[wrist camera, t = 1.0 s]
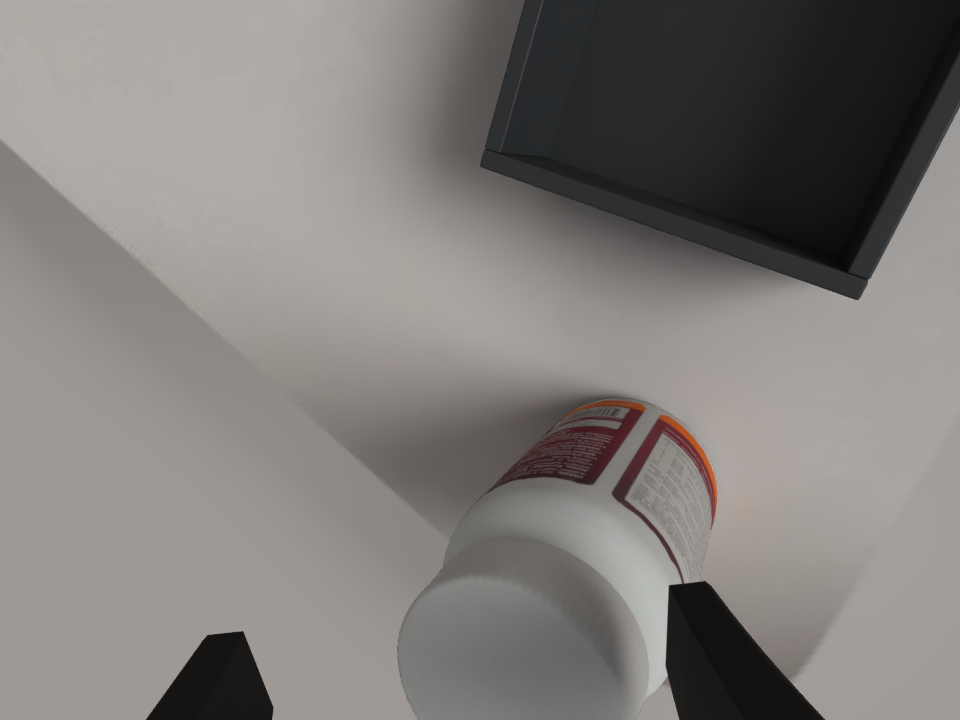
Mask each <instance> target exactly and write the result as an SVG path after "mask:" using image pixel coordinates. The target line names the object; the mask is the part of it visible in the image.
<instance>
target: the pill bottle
mask: <svg viewBox="0 0 960 720" xmlns="http://www.w3.org/2000/svg"><path fill="white" fill-rule="evenodd" d="M716 505H717V482H716V476H715V472H714V468H713V465H712V462H711V460H710V458H709V456H708V454H707V452H706V450H705V448H704V446H703V445H702V443H701V442H700V440H699V439H698V438H697V437H696V435H695V434H694V433H693V432H692V431H691V430H690V429H689V428H688V427H687V426H686V425H685V424H684V423H683V422H681V421H680V420H679V419H677V418H676V417H674V416H673V415H671V414H670V413H668V412H667V411H665V410H663V409H661V408H659V407H656V406H654V405H651V404H649V403H645V402H642V401H638V400H633V399H628V398H610V399H603V400H598V401H594V402H591V403H588V404H585V405H583V406H581V407H579V408H577V409H575V410H573V411H572V412H570V413H569V414H567V415H566V416H565V417H563V418H562V419H561V420H560V421H559V422H558V423H557V424H556V425H555V426H554V427H553V428H552V429H550V430H549V431H548V432H547V433H546V434H545V435H544V436H543V437H542V438H541V439H540V440H539V441H538V442H537V443H536V444H535V445H534V446H533V448H532V449H531V450H529V451H528V452H527V453H526V454H525V455H524V456H523V457H522V458H521V459H520V460H519V461H518V462H517V463H516V464H515V465H513V466H512V467H511V468H510V469H509V470H508V471H507V472H506V473H505V474H504V475H503V476H502V478H500V479H499V480H498V481H497V482H496V484H495V485H494V486H493V487H492V488H491V489H490V490H489V491H488V492H487V493H485V494H484V495H483V496H482V497H481V498H480V499H479V500H478V501H477V502H476V503H475V504H474V505H473V506H472V507H471V508H470V510H469V511H468V513H467V514H466V515H465V516H464V517H463V519H462V520H461V522H460V523H459V525H458V526H457V528H456V529H455V531H454V533H453V535H452V537H451V539H450V542H449V545H448V547H447V550H446V554H445V558H444V563H443V568H442V569H441V571H440V572H439V573H438V575H437V576H436V577H435V578H434V579H433V581H432V582H431V583H430V584H429V585H428V586H427V587H426V588H425V589H424V590H423V591H422V592H421V593H420V595H419V596H418V597H417V598H416V599H415V600H414V602H413V604H412V605H411V607H410V608H409V610H408V612H407V613H406V615H405V618H404V620H403V623H402V625H401V629H400V633H399V638H398V647H397V653H398V666H399V672H400V678H401V682H402V685H403V688H404V691H405V694H406V697H407V700H408V702H409V704H410V706H411V708H412V710H413V712H414V714H415V715H416V717H417V719H418V720H637V718H638V716H639V714H640V711H641V708H642V705H643V702H644V700H645V699H647V698H648V697H649V696H650V695H652V694H653V693H654V692H655V691H656V690H657V688H659V687H660V686H661V684H662V683H663V682H664V680H665V679H666V678H667V676H668V674H667V670H666V666H665V663H666V639H667V615H668V591H669V585H675V584H684V583H694V582H698V578H699V574H700V571H701V567H702V563H703V559H704V555H705V552H706V548H707V544H708V541H709V537H710V533H711V529H712V526H713V522H714V517H715V511H716Z"/></svg>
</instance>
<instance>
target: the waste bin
mask: <svg viewBox="0 0 960 720" xmlns="http://www.w3.org/2000/svg"><path fill="white" fill-rule="evenodd" d="M959 107H960V0H525V3H524V7H523V11H522V14H521V18H520V22H519V25H518V29H517V33H516V36H515V40H514V43H513V47H512V51H511V54H510V58H509V62H508V65H507V69H506V73H505V76H504V80H503V83H502V87H501V91H500V94H499V98H498V102H497V105H496V109H495V113H494V116H493V120H492V124H491V127H490V131H489V134H488V138H487V142H486V145H485V148H486V149H485V150H484V153H483V157H482V160H481V164H480V166H481V167H482V168H485V169H487V170H490V171H493V172H496V173H499V174H502V175H504V176H507V177H510V178H513V179H516V180H519V181H521V182H524V183H527V184H530V185H533V186H536V187H538V188H541V189H544V190H547V191H550V192H552V193H555V194H558V195H561V196H564V197H567V198H569V199H572V200H575V201H578V202H581V203H584V204H586V205H589V206H592V207H595V208H598V209H601V210H603V211H606V212H609V213H612V214H615V215H617V216H620V217H623V218H626V219H629V220H632V221H634V222H637V223H640V224H643V225H646V226H649V227H651V228H654V229H657V230H660V231H663V232H666V233H668V234H671V235H674V236H677V237H680V238H682V239H685V240H688V241H691V242H694V243H697V244H699V245H702V246H705V247H708V248H711V249H714V250H716V251H719V252H722V253H725V254H728V255H731V256H733V257H736V258H739V259H742V260H745V261H747V262H750V263H753V264H756V265H759V266H762V267H764V268H767V269H770V270H773V271H776V272H779V273H781V274H784V275H787V276H790V277H793V278H796V279H798V280H801V281H804V282H807V283H810V284H812V285H815V286H818V287H821V288H824V289H827V290H829V291H832V292H835V293H838V294H841V295H844V296H846V297H849V298H852V299H855V300H859V299H860V297H861V295H862V293H863V292H864V290H865V288H866V286H867V284H868V280H867V279H870V278H871V276H872V274H873V272H874V270H875V269H876V267H877V265H878V263H879V261H880V259H881V257H882V255H883V253H884V251H885V249H886V247H887V245H888V244H889V242H890V240H891V238H892V236H893V234H894V232H895V230H896V228H897V226H898V224H899V222H900V221H901V219H902V217H903V215H904V213H905V211H906V209H907V207H908V205H909V203H910V201H911V199H912V197H913V196H914V194H915V192H916V190H917V188H918V186H919V184H920V182H921V180H922V178H923V176H924V174H925V173H926V171H927V169H928V167H929V165H930V163H931V161H932V159H933V157H934V155H935V153H936V151H937V150H938V148H939V146H940V144H941V142H942V140H943V138H944V136H945V134H946V132H947V130H948V128H949V126H950V125H951V123H952V121H953V119H954V117H955V115H956V113H957V111H958V109H959Z"/></svg>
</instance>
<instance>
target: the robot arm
mask: <svg viewBox="0 0 960 720" xmlns="http://www.w3.org/2000/svg"><path fill="white" fill-rule="evenodd" d="M665 666H666V670H667V674H668V678H669V682H670V686H671V690H672V694H673V697H674V701H675V705H676V709H677V712H678V716H679V719H680V720H825V719H824V718H823V717H822V716H821V715H820V714H819V713H818V712H817V711H816V709H815V708H814V707H813V706H812V705H811V704H810V703H809V702H808V701H807V700H806V699H805V698H804V696H803V695H802V694H801V693H800V692H799V691H798V690H797V689H796V688H795V686H794V685H793V684H792V683H791V682H790V681H789V680H788V679H787V678H786V677H785V675H784V674H783V673H782V672H781V671H780V670H779V669H778V668H777V666H776V665H775V664H774V663H773V662H772V661H771V660H770V658H769V657H768V656H767V655H766V654H765V653H764V651H763V650H762V649H761V648H760V647H759V645H758V644H757V643H756V642H755V641H754V639H753V638H752V637H751V636H750V635H749V633H748V632H747V631H746V630H745V629H744V627H743V626H742V625H741V624H740V622H739V621H738V620H737V619H736V617H735V616H734V615H733V614H732V612H731V611H730V610H729V609H728V607H727V606H726V605H725V603H724V602H723V601H722V599H721V598H720V597H719V596H718V594H717V593H716V592H715V590H714V589H713V588H712V586H711V585H709V584H708V583H707V582H705V581H703V582H694V583H684V584H675V585H669V591H668V615H667V639H666V663H665ZM272 715H273V705H272V703H271V700H270V698H269V695H268V693H267V690H266V688H265V685H264V683H263V680H262V678H261V675H260V673H259V670H258V668H257V665H256V663H255V660H254V658H253V655H252V653H251V650H250V647H249V645H248V642H247V640H246V637H245V635H244V632H243V631H241V632H232V633H223V634H214V635H207V637H206V638H205V639H204V640H203V641H202V642H201V644H200V645H199V647H198V648H197V650H196V651H195V652H194V654H193V655H192V656H191V658H190V659H189V661H188V662H187V663H186V665H185V666H184V667H183V669H182V670H181V672H180V673H179V675H178V676H177V677H176V679H175V680H174V681H173V683H172V684H171V686H170V687H169V688H168V690H167V691H166V693H165V694H164V695H163V697H162V698H161V700H160V701H159V702H158V704H157V705H156V707H155V708H154V709H153V711H152V712H151V713H150V715H149V716H148V718H147V719H146V720H272Z"/></svg>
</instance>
